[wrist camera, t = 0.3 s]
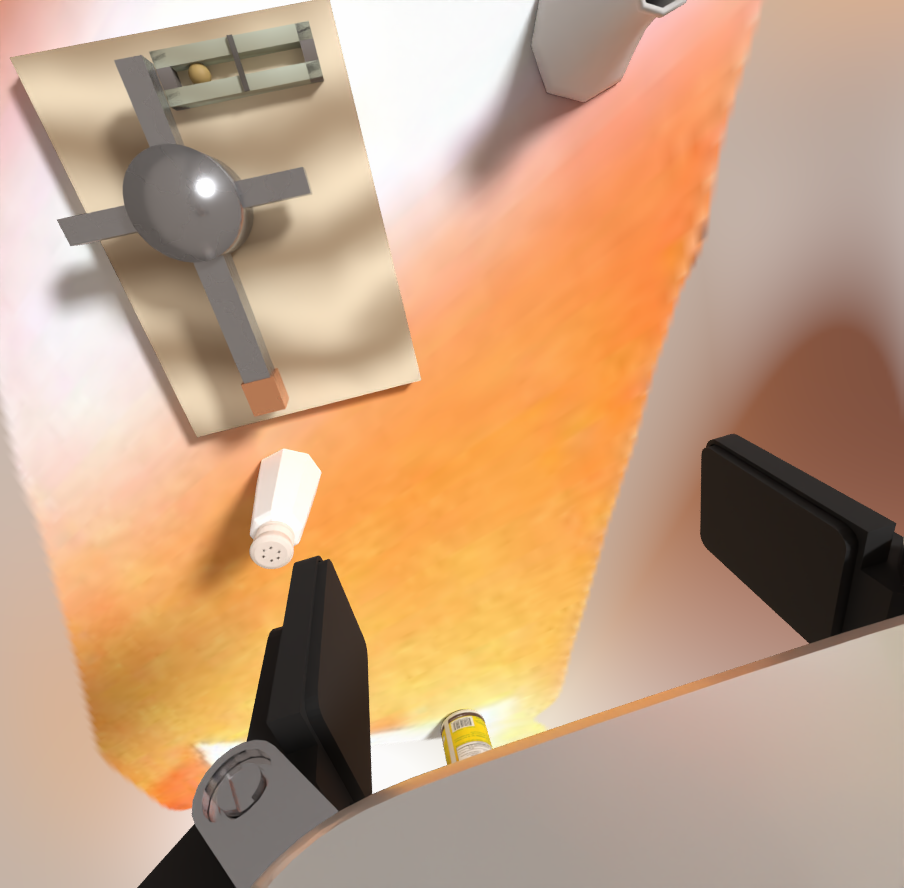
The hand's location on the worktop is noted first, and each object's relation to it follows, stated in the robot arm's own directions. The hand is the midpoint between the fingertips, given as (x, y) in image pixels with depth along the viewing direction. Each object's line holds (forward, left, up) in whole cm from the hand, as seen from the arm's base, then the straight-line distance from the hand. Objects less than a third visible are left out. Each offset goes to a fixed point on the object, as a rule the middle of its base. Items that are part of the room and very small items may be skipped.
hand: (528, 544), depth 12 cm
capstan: (-7, -11, -28) cm, 31 cm away
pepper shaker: (+11, -13, -30) cm, 35 cm away
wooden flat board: (-7, -9, -30) cm, 32 cm away
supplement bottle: (+50, -5, -30) cm, 59 cm away
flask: (-15, +16, -30) cm, 37 cm away
